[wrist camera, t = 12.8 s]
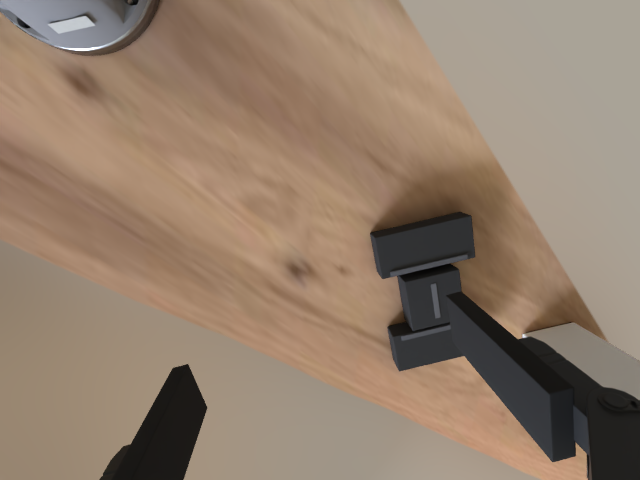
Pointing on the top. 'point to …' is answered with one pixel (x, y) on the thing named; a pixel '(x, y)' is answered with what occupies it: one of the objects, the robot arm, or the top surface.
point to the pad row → (413, 255)
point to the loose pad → (428, 295)
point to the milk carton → (593, 356)
